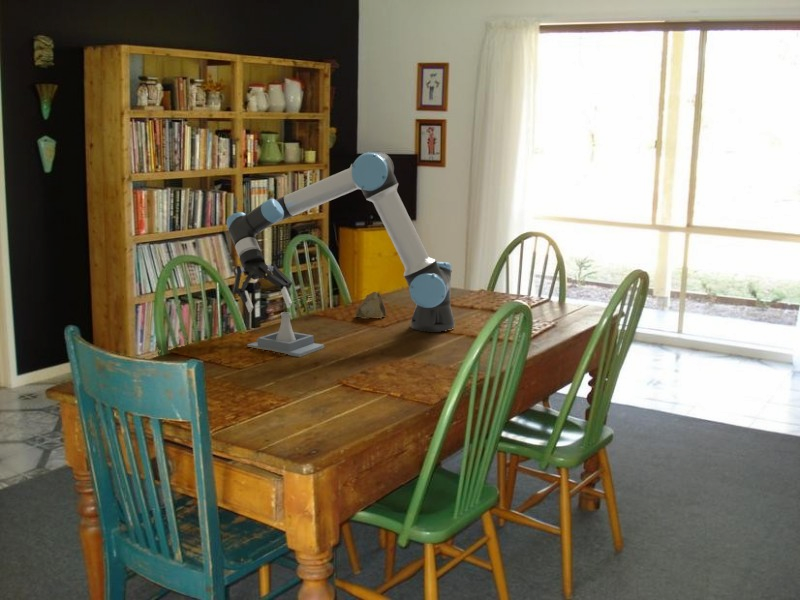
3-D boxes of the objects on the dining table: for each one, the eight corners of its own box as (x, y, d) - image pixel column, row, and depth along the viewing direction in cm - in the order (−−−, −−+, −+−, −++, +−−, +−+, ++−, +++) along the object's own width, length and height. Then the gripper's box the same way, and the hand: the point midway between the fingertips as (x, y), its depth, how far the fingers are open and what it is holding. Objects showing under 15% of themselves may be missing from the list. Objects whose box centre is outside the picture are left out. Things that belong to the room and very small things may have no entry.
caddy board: (324, 347, 287) (324, 337, 287) (299, 356, 276) (299, 345, 276) (273, 339, 297) (273, 328, 296) (247, 347, 286) (247, 336, 285)
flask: (293, 348, 282) (293, 316, 280) (270, 346, 284) (270, 314, 282) (300, 342, 289) (300, 311, 287) (278, 341, 291) (278, 310, 289)
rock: (348, 313, 327) (373, 312, 322) (353, 291, 330) (378, 290, 326) (362, 326, 335) (386, 325, 331) (366, 305, 339) (390, 304, 335)
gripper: (280, 258, 312) (301, 309, 303) (211, 264, 298) (231, 318, 289) (287, 245, 306) (309, 297, 297) (217, 250, 293) (237, 305, 284)
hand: (270, 307), depth 293 cm, fingers open, 13 cm apart
